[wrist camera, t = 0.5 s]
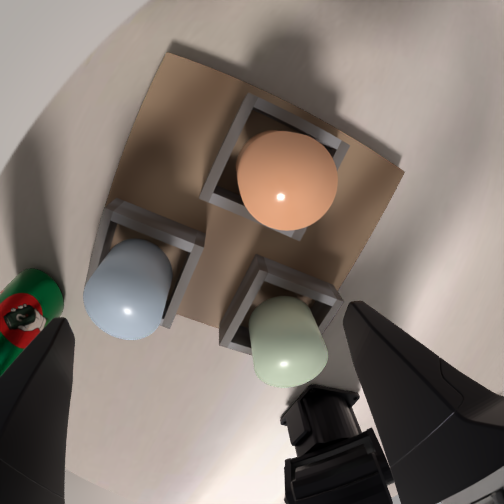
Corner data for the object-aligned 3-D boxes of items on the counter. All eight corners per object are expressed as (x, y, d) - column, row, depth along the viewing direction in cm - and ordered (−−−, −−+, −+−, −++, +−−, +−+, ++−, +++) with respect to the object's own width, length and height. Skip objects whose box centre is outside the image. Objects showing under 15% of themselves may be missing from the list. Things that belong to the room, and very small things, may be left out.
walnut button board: (398, 169, 21) (423, 178, 18) (294, 344, 26) (302, 372, 23) (169, 55, 17) (159, 43, 14) (91, 272, 22) (74, 294, 19)
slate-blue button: (182, 254, 19) (173, 288, 15) (160, 310, 20) (150, 350, 17) (115, 227, 18) (91, 255, 14) (99, 286, 19) (78, 321, 15)
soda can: (17, 258, 21) (-68, 344, 10) (66, 274, 22) (-11, 377, 11) (21, 307, 23) (-45, 397, 12) (67, 323, 24) (10, 428, 13)
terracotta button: (326, 151, 17) (354, 161, 13) (292, 219, 18) (309, 244, 15) (256, 116, 16) (266, 115, 12) (222, 188, 17) (222, 207, 14)
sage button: (323, 307, 21) (342, 344, 17) (292, 353, 23) (304, 393, 19) (266, 286, 20) (276, 323, 16) (238, 337, 22) (241, 378, 18)
